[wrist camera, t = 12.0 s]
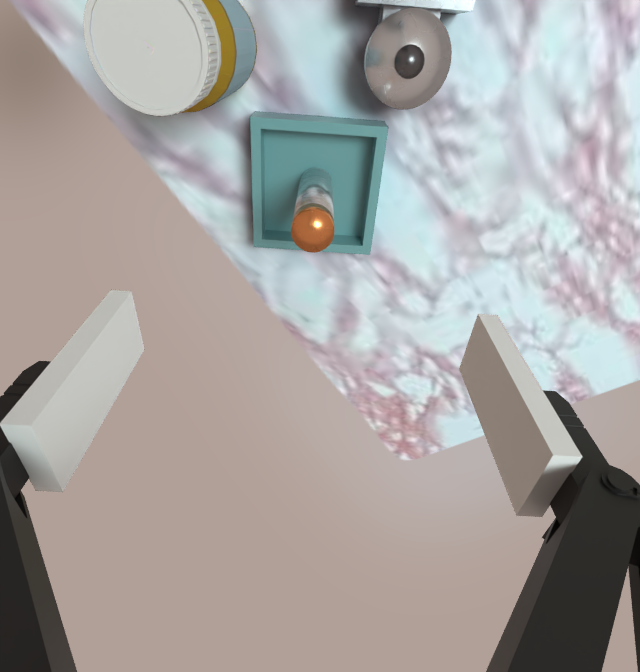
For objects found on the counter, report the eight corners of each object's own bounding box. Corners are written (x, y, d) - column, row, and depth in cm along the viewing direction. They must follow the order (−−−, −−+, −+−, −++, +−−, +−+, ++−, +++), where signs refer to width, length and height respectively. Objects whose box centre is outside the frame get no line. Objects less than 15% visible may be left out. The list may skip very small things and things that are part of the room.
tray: (255, 111, 36) (250, 116, 33) (384, 120, 36) (388, 127, 34) (258, 234, 42) (253, 246, 40) (367, 242, 43) (370, 254, 40)
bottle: (272, 73, 34) (242, 93, 22) (197, 108, 36) (130, 145, 24) (231, -33, 31) (167, -79, 18) (150, 11, 32) (41, -4, 20)
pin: (300, 165, 38) (291, 209, 28) (333, 168, 38) (336, 212, 28) (299, 199, 40) (290, 250, 30) (331, 201, 40) (332, 253, 30)
